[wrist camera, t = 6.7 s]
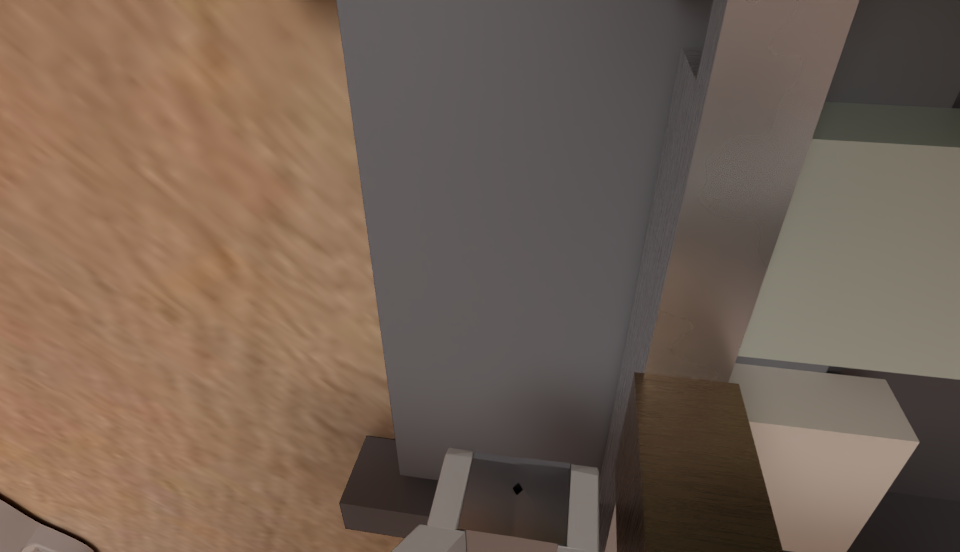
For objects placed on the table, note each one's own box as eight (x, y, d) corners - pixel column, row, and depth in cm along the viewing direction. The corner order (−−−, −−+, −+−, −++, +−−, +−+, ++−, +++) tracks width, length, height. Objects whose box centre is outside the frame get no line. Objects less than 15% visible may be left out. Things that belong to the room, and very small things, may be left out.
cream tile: (819, 495, 18) (841, 558, 16) (651, 473, 19) (657, 531, 17) (885, 379, 15) (919, 442, 13) (683, 357, 16) (692, 414, 14)
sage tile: (919, 319, 14) (961, 380, 12) (698, 298, 14) (711, 353, 13) (1035, 112, 11) (1111, 156, 9) (753, 98, 12) (777, 137, 10)
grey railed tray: (810, 523, 22) (836, 606, 19) (370, 461, 24) (345, 528, 22) (1210, -176, 10) (1408, -187, 7) (259, -167, 12) (175, -173, 10)
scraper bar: (652, 557, 21) (674, 855, 15) (567, 544, 21) (553, 828, 15) (883, -179, 9) (1564, -265, 3) (676, -176, 9) (835, -245, 3)
